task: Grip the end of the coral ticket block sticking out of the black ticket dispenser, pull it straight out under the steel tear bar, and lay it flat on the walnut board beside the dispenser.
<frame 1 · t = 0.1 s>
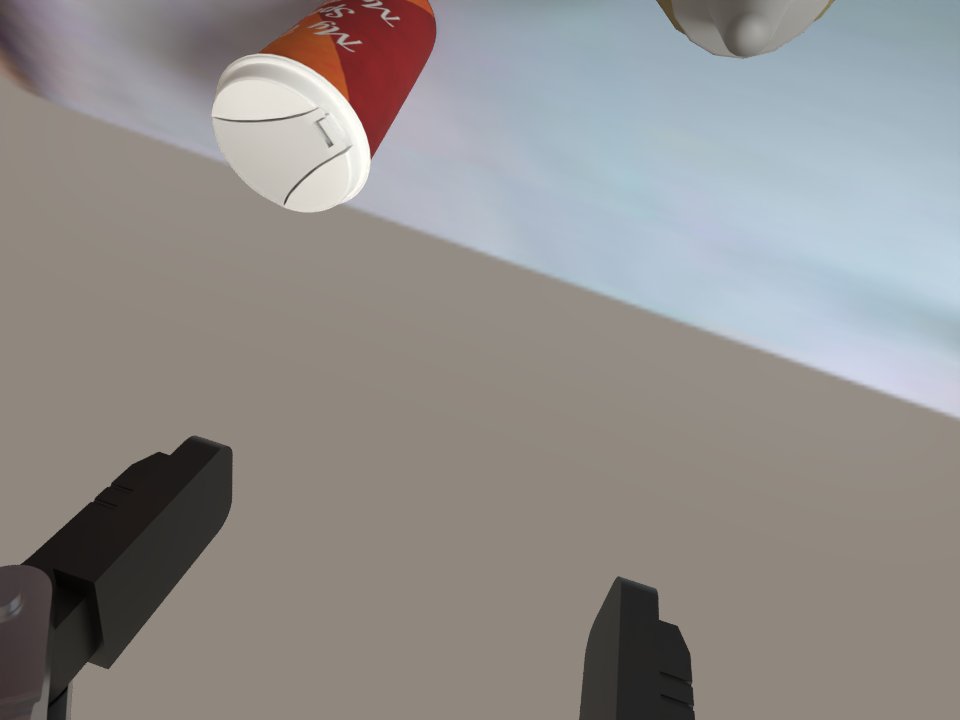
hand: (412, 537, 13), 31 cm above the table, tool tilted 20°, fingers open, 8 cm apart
paper cup: (392, 21, 38), on the table
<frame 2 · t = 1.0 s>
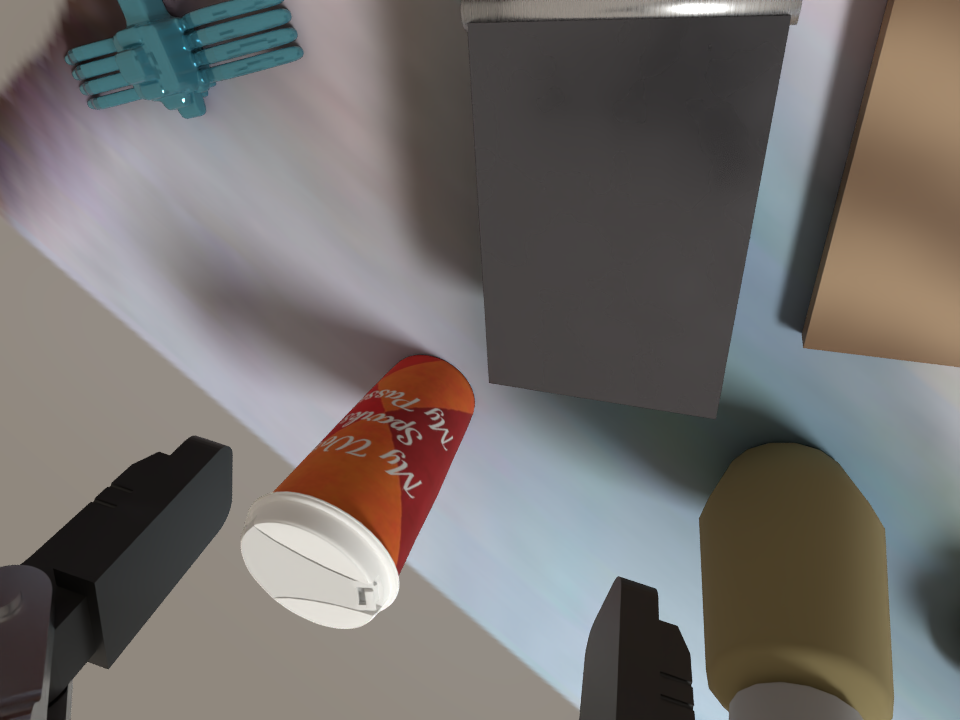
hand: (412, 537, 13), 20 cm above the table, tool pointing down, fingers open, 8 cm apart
dispenser: (632, 182, 28), on the table
squeeze bottle: (784, 480, 34), on the table
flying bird: (180, 40, 32), on the table
paper cup: (432, 391, 39), on the table
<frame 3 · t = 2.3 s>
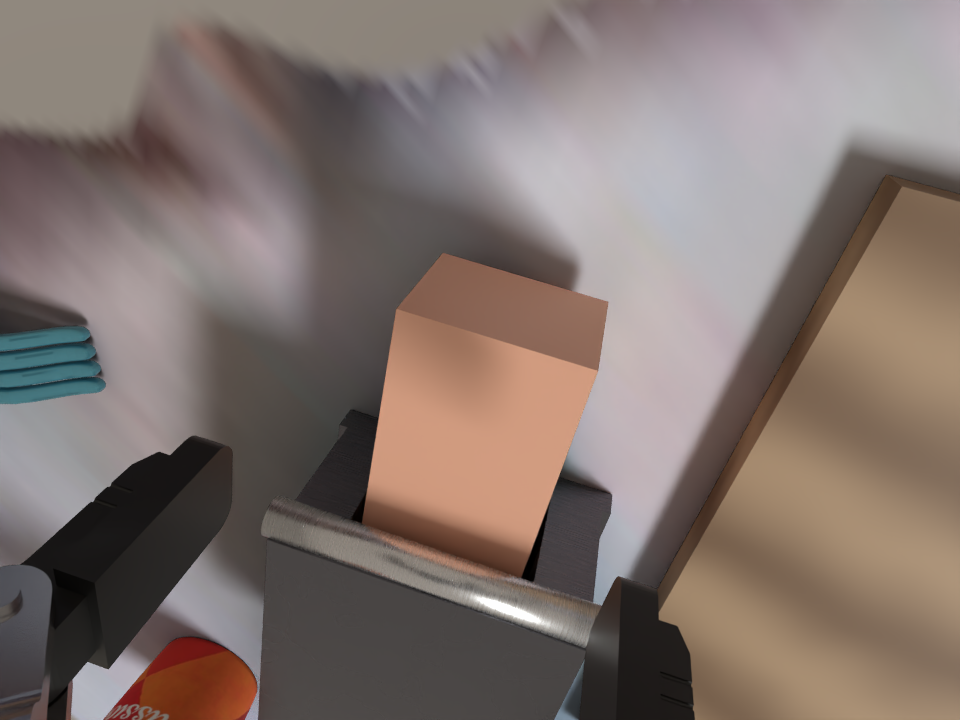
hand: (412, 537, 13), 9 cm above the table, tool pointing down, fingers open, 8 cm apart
dispenser: (444, 576, 27), on the table
ticket block: (464, 498, 23), point 1 cm above the table, touching dispenser
board: (887, 596, 22), on the table
paper cup: (212, 667, 35), on the table
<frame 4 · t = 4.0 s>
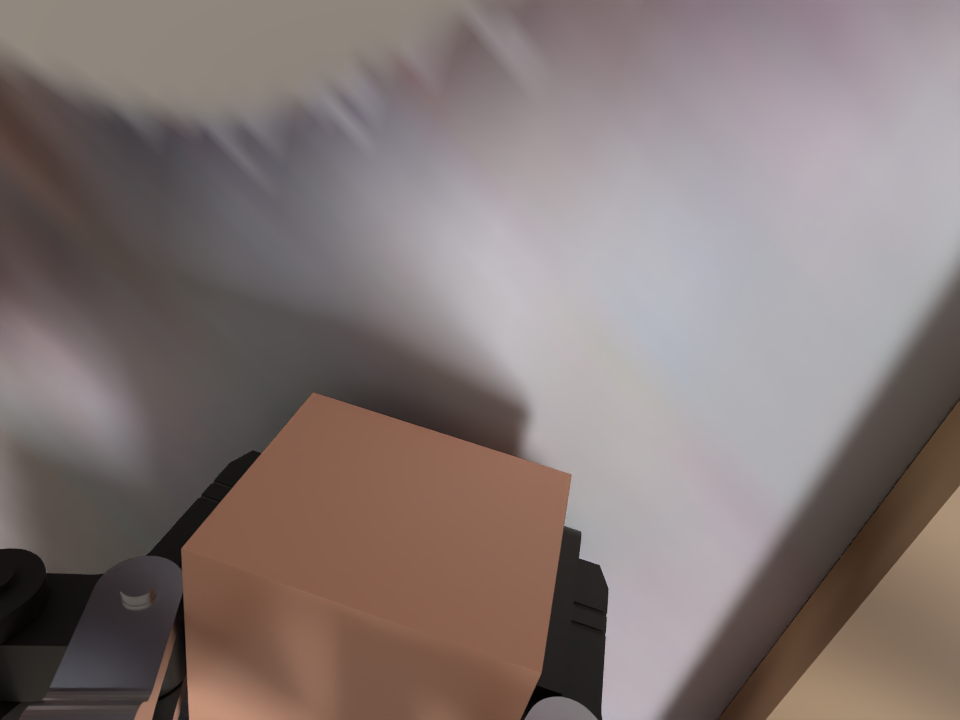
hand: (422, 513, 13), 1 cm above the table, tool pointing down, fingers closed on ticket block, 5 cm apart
ticket block: (377, 702, 16), point 1 cm above the table, touching dispenser, gripper
when the fingers open (2 cm above the table, at t = 13.0 s): ticket block drops 2 cm, resting on board.
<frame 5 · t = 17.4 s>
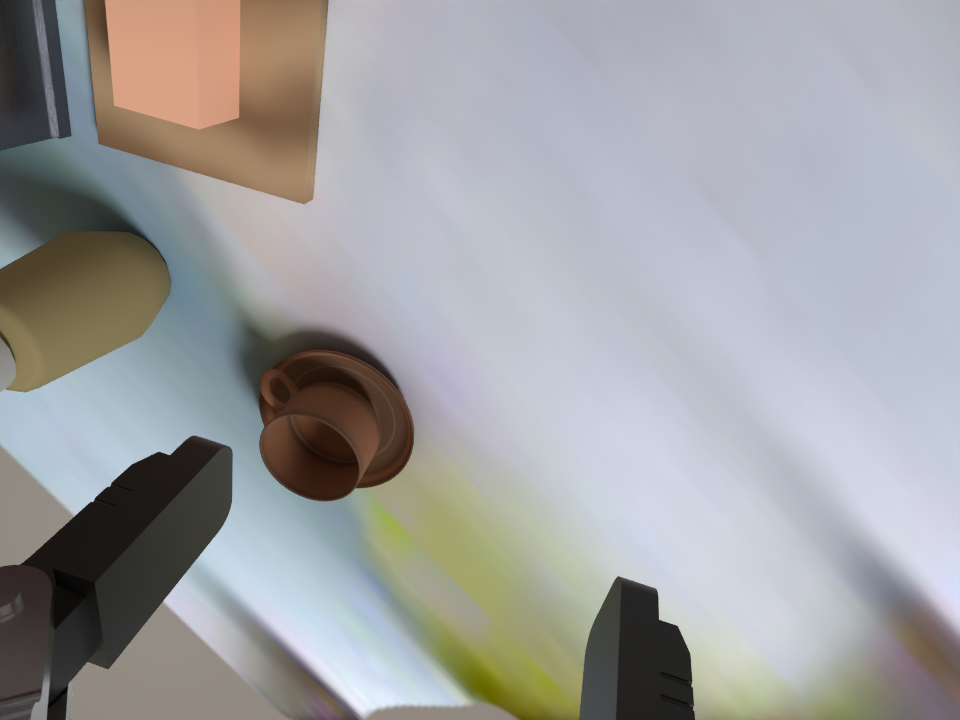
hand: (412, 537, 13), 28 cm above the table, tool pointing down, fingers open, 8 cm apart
cup and saucer: (346, 408, 49), on the table
squeeze bottle: (137, 268, 46), on the table
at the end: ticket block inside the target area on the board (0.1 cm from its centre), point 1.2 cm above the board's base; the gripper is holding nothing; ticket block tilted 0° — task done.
